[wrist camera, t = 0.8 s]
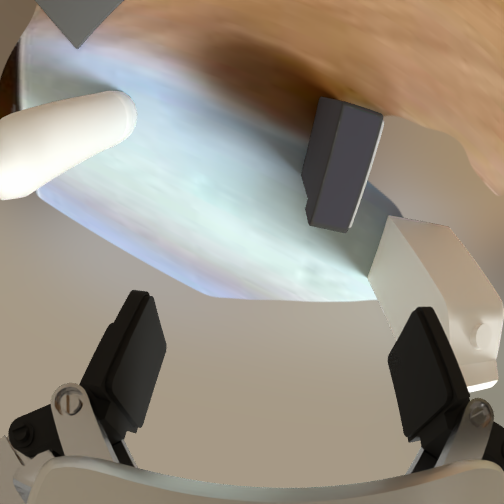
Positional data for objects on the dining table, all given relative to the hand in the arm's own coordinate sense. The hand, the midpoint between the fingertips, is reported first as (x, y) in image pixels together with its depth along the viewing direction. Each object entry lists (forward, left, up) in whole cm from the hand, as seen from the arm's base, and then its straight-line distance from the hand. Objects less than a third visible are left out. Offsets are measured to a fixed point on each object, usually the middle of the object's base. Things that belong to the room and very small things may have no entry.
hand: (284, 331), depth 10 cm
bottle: (+15, -18, -30) cm, 38 cm away
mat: (+5, -40, -30) cm, 50 cm away
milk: (-9, +25, -30) cm, 41 cm away
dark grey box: (-5, +2, -30) cm, 31 cm away
